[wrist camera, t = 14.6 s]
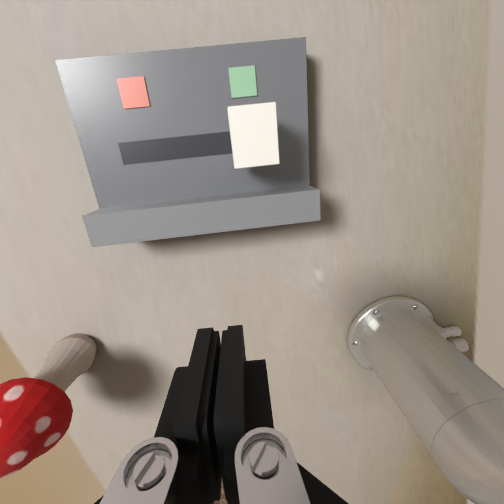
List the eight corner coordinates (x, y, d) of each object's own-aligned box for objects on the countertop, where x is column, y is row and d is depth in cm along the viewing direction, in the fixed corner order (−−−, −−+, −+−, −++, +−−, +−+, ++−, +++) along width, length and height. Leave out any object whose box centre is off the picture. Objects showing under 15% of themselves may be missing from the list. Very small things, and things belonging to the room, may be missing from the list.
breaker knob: (265, 113, 26) (275, 101, 20) (269, 161, 27) (279, 163, 21) (228, 117, 25) (227, 106, 20) (233, 165, 27) (234, 168, 21)
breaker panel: (297, 49, 27) (317, 18, 21) (303, 208, 32) (320, 220, 26) (74, 70, 26) (26, 44, 20) (118, 229, 32) (92, 247, 25)
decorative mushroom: (67, 308, 35) (-46, 414, 20) (125, 343, 37) (60, 460, 23) (27, 357, 37) (-100, 484, 22) (85, 387, 39) (3, 519, 25)
